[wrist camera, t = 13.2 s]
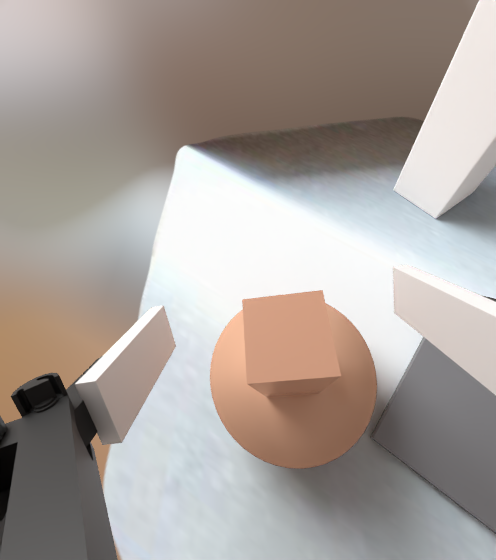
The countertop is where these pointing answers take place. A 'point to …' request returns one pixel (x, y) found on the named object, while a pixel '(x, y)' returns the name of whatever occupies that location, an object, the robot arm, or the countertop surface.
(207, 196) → the countertop surface
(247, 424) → the lid
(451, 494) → the mat
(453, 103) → the milk
